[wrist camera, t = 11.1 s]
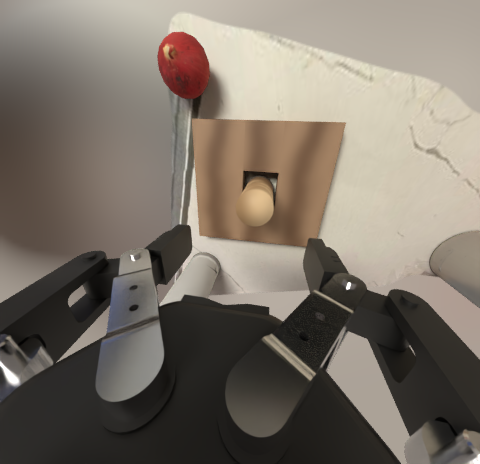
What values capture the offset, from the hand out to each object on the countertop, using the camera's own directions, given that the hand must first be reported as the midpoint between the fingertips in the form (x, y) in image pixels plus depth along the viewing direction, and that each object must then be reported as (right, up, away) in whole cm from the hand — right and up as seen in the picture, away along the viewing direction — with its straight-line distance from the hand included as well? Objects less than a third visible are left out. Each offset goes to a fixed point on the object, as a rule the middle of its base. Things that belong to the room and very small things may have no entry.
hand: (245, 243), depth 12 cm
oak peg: (+3, +8, +18) cm, 20 cm away
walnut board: (+3, +8, +17) cm, 20 cm away
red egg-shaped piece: (-6, +22, +13) cm, 26 cm away
